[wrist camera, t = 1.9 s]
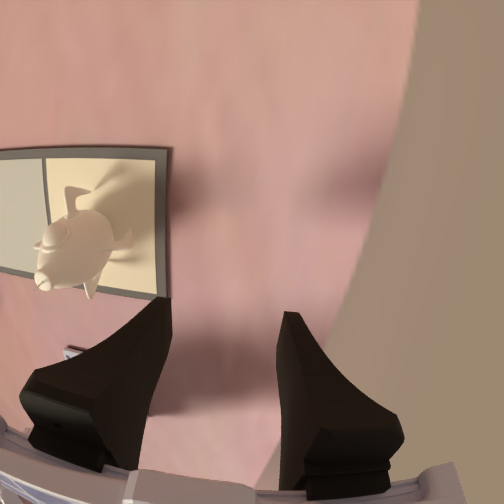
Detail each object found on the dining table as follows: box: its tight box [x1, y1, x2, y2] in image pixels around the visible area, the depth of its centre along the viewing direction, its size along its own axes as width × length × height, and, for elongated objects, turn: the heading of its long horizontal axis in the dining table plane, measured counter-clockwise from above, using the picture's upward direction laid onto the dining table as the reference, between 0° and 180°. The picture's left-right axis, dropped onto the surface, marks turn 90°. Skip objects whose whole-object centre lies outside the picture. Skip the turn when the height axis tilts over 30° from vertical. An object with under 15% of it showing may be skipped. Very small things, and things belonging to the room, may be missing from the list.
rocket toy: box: [33, 186, 133, 299], centre depth 17 cm, size 5×5×8 cm
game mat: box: [0, 147, 168, 301], centre depth 20 cm, size 11×27×1 cm, turn 84°
